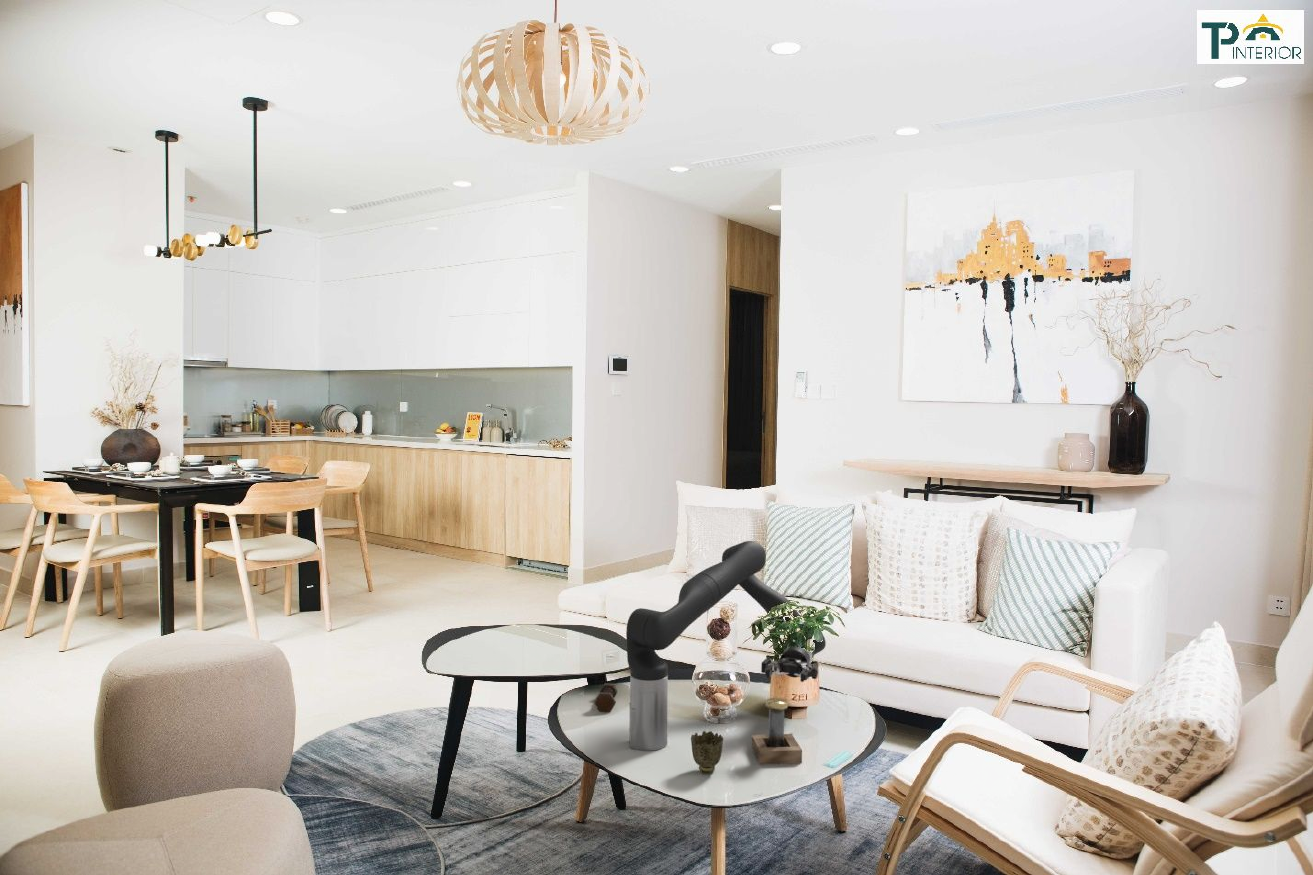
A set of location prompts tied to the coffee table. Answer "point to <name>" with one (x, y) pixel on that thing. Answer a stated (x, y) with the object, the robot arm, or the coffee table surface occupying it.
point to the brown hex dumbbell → (606, 698)
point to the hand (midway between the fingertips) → (785, 675)
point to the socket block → (776, 750)
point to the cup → (707, 750)
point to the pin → (776, 721)
